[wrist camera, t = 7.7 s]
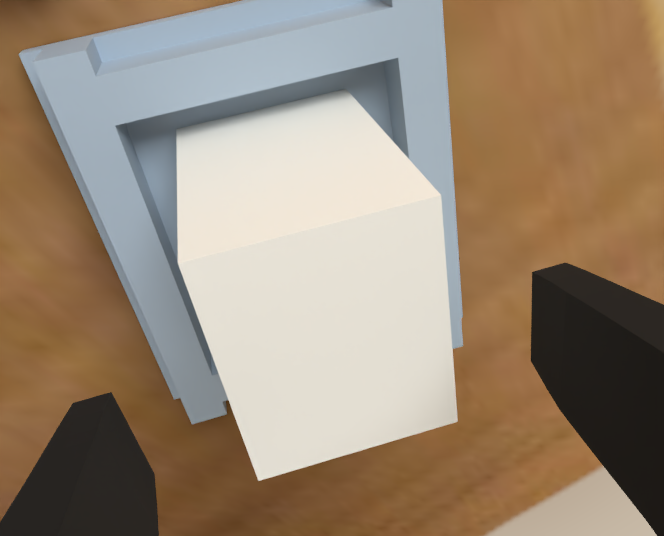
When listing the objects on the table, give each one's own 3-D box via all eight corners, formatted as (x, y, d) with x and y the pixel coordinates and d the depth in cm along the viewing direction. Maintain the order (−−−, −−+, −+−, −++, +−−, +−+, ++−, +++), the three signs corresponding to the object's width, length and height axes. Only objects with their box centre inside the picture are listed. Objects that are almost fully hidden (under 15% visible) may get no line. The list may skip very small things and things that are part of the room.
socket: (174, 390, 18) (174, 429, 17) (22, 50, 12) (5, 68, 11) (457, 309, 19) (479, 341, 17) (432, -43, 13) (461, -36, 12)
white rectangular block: (232, 302, 16) (258, 480, 11) (176, 129, 14) (177, 263, 9) (372, 265, 17) (457, 421, 12) (345, 88, 14) (441, 195, 9)
